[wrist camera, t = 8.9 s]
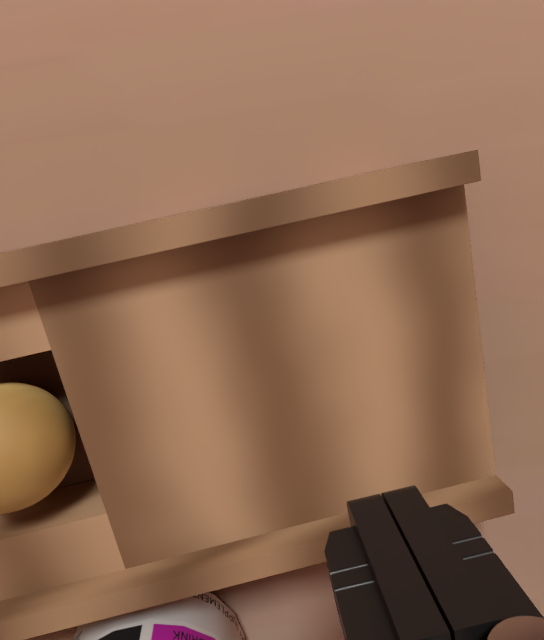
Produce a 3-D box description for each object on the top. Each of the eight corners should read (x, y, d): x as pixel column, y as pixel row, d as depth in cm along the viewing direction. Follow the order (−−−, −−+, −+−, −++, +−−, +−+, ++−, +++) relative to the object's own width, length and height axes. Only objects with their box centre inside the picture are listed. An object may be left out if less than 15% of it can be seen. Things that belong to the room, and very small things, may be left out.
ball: (-26, 418, 15) (-123, 421, 17) (25, 549, 16) (-71, 539, 18) (80, 359, 19) (-6, 367, 21) (115, 466, 21) (30, 465, 22)
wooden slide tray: (426, 160, 20) (477, 149, 16) (463, 460, 24) (514, 512, 20) (-223, 302, 19) (-343, 328, 15) (-84, 597, 22) (-151, 684, 18)
